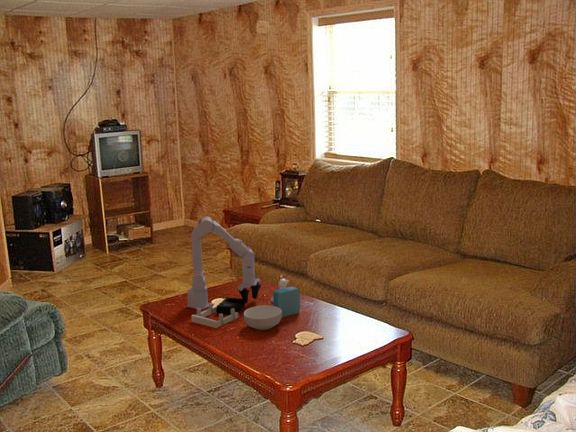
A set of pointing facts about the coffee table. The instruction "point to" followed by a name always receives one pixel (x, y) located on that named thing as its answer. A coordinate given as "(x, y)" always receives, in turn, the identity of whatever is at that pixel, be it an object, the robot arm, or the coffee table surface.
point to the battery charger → (230, 305)
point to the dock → (209, 322)
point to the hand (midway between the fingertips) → (250, 300)
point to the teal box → (287, 300)
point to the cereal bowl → (263, 316)
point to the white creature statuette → (281, 285)
